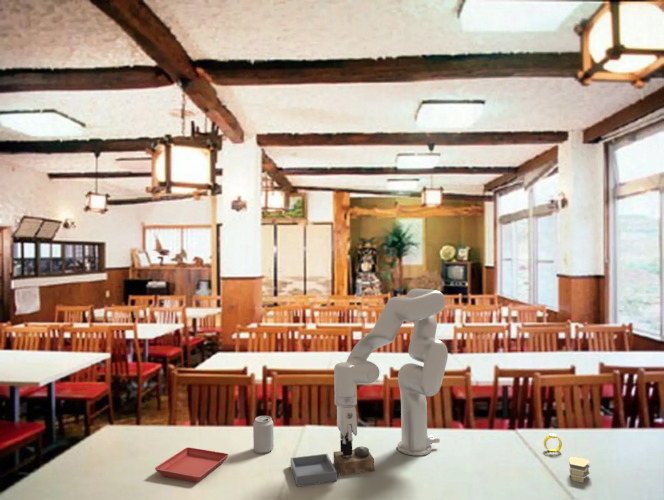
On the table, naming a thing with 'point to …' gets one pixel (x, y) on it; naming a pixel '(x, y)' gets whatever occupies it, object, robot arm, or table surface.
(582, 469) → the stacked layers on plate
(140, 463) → the table surface
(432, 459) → the table surface
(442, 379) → the robot arm
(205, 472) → the plant saucer
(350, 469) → the block
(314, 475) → the tray
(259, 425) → the can
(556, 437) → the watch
